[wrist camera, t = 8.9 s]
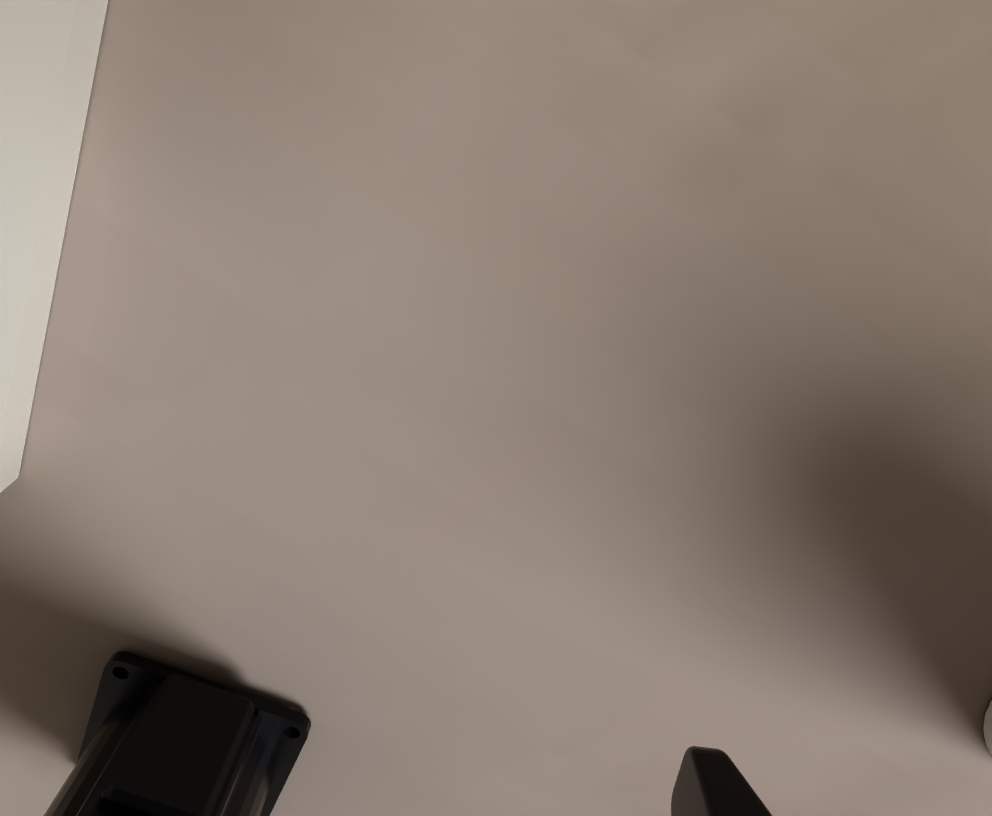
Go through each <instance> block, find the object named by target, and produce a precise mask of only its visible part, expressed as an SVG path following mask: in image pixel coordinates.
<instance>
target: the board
mask: <svg viewBox="0 0 992 816" xmlns="http://www.w3.org/2000/svg"><path fill="white" fill-rule="evenodd" d="M107 4H108V0H0V493H1V492H2V491H3V490H4V489H5V488H6V487H8V486H9V485H10V484H11V483H12V482H13V481H15V480H16V479H17V478H18V477H19V472H20V466H21V461H22V456H23V451H24V445H25V440H26V435H27V429H28V424H29V419H30V413H31V408H32V403H33V397H34V392H35V387H36V381H37V376H38V371H39V366H40V360H41V355H42V350H43V344H44V339H45V334H46V328H47V323H48V318H49V312H50V307H51V302H52V297H53V291H54V286H55V281H56V275H57V270H58V265H59V259H60V254H61V249H62V243H63V238H64V233H65V227H66V222H67V217H68V212H69V206H70V201H71V196H72V190H73V185H74V180H75V174H76V169H77V164H78V158H79V153H80V148H81V143H82V137H83V132H84V127H85V121H86V116H87V111H88V105H89V100H90V95H91V89H92V84H93V79H94V73H95V68H96V63H97V58H98V52H99V47H100V42H101V36H102V31H103V26H104V20H105V15H106V10H107Z"/></svg>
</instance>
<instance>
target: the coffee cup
mask: <svg viewBox="0 0 992 816" xmlns="http://www.w3.org/2000/svg"><path fill="white" fill-rule="evenodd" d="M983 731H984V737H985V742H986V745H987V747H988V750H989V752H990V754H991V756H992V700H991V702H990V704H989V707H988V709H987V711H986V714H985V720H984V728H983Z"/></svg>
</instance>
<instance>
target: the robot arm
mask: <svg viewBox="0 0 992 816" xmlns="http://www.w3.org/2000/svg"><path fill="white" fill-rule="evenodd" d="M293 727H295V728H293ZM310 727H311V722H310V719H309V718H308V717H307V716H306V715H305V714H303V713H301V712H298V711H295V710H292V709H290V708H287V707H284V706H281V705H278V704H275V703H273V702H270V701H267V700H264V699H261V698H258V697H255V696H253V695H250V694H247V693H244V692H241V691H238V690H236V689H233V688H230V687H227V686H224V685H221V684H219V683H216V682H213V681H210V680H207V679H204V678H202V677H199V676H196V675H193V674H190V673H187V672H184V671H182V670H179V669H176V668H173V667H170V666H167V665H165V664H162V663H159V662H156V661H153V660H150V659H148V658H145V657H142V656H139V655H136V654H133V653H131V652H126V651H120V652H117V653H115V654H113V656H112V657H111V658H110V660H109V661H108V663H107V664H106V666H105V667H104V671H103V674H102V678H101V681H100V685H99V688H98V692H97V695H96V699H95V702H94V706H93V709H92V712H91V716H90V719H89V723H88V726H87V730H86V733H85V737H84V740H83V744H82V747H81V751H80V754H79V757H78V761H77V764H76V766H75V767H74V769H73V770H72V772H71V773H70V775H69V777H68V778H67V780H66V781H65V783H64V784H63V786H62V788H61V789H60V791H59V792H58V794H57V796H56V797H55V799H54V800H53V802H52V803H51V805H50V807H49V808H48V810H47V811H46V813H45V814H44V816H270V813H271V811H272V809H273V807H274V805H275V803H276V801H277V799H278V797H279V795H280V793H281V791H282V789H283V787H284V785H285V782H286V780H287V778H288V776H289V774H290V772H291V770H292V768H293V766H294V764H295V762H296V760H297V758H298V756H299V754H300V751H301V749H302V747H303V745H304V743H305V741H306V739H307V737H308V734H309V731H310ZM671 816H772V815H771V813H770V812H769V811H768V809H767V808H766V807H765V805H764V804H763V802H762V801H761V800H760V798H759V797H758V796H757V794H756V793H755V792H754V790H753V789H752V788H751V786H750V785H749V784H748V782H747V781H746V779H745V778H744V777H743V775H742V774H741V773H740V771H739V770H738V769H737V767H736V766H735V765H734V763H733V762H732V760H731V759H730V758H729V756H728V755H727V754H726V753H725V752H723V751H722V750H719V749H714V748H705V747H697V746H692V747H689V748H688V749H687V750H686V752H685V754H684V757H683V761H682V764H681V767H680V770H679V773H678V776H677V780H676V783H675V786H674V789H673V793H672V801H671Z"/></svg>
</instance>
